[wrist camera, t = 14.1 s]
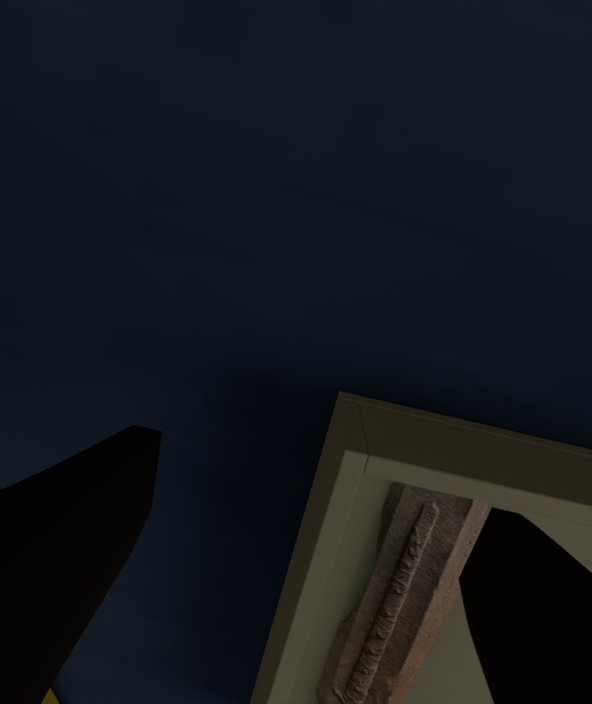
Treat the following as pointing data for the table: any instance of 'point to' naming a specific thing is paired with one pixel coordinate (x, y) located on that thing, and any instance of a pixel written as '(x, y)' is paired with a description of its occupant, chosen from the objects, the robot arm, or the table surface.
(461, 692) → the cream square tray
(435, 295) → the table surface
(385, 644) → the sword-carved stone slab
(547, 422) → the table surface
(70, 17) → the table surface
